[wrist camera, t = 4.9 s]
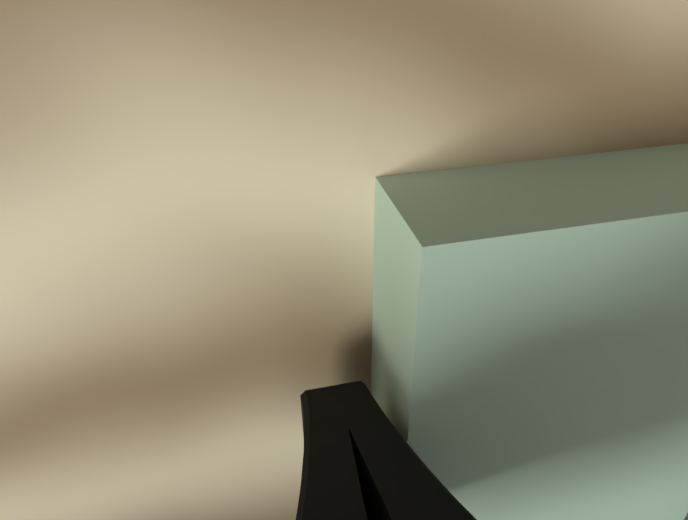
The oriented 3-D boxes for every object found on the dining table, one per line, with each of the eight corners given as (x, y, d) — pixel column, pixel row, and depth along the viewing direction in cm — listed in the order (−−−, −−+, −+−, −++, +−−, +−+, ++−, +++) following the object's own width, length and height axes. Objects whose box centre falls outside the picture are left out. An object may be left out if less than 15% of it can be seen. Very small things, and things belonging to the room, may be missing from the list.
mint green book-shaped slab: (620, 450, 17) (680, 526, 15) (368, 506, 15) (395, 599, 13) (747, 136, 11) (870, 187, 9) (375, 176, 10) (422, 247, 8)
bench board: (713, 466, 21) (734, 489, 20) (-115, 661, 16) (-132, 702, 15) (1030, -98, 11) (1098, -100, 10) (-896, -69, 6) (-1073, -65, 5)
